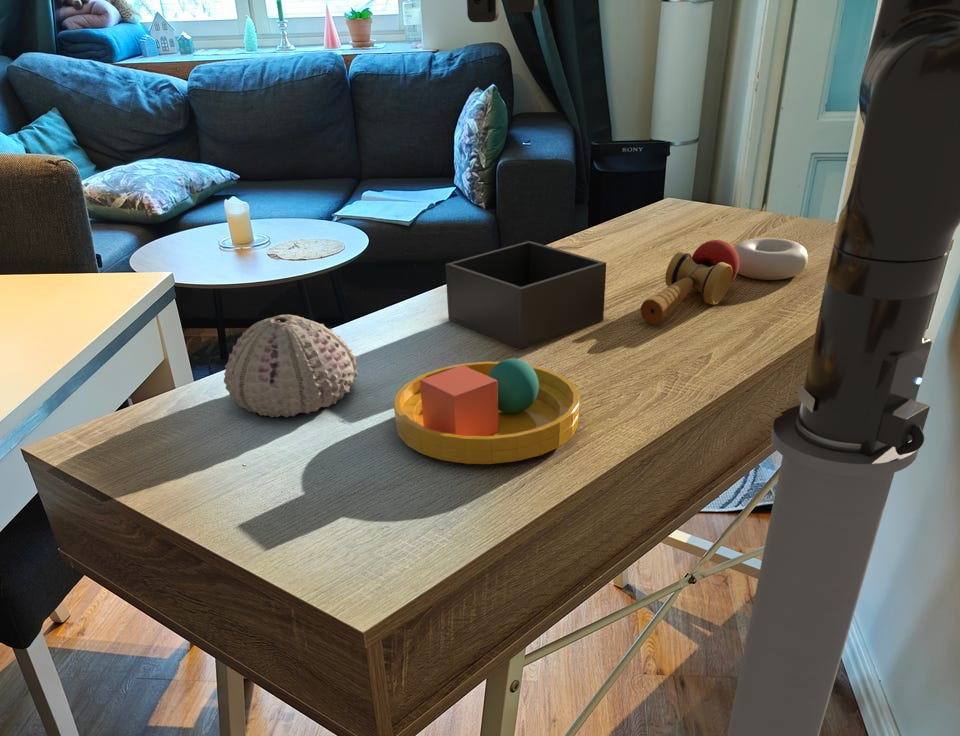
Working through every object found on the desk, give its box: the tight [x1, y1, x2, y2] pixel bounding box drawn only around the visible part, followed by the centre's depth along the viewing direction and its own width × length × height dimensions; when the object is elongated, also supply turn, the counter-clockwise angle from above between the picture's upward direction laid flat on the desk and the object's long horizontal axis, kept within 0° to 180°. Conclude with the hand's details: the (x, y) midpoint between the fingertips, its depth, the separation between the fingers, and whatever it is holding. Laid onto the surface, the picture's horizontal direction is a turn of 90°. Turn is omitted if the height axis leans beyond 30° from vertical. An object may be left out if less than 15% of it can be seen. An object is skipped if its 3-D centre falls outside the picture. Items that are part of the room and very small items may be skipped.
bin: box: [444, 240, 607, 350], centre depth 105 cm, size 13×13×7 cm
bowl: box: [393, 361, 580, 465], centre depth 84 cm, size 17×17×3 cm
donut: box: [733, 237, 809, 281], centre depth 117 cm, size 10×4×10 cm
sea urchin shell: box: [223, 314, 359, 418], centre depth 89 cm, size 13×14×8 cm
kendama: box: [640, 239, 739, 326], centre depth 108 cm, size 8×6×18 cm
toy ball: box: [488, 358, 539, 414], centre depth 84 cm, size 5×5×5 cm
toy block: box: [420, 365, 498, 436], centre depth 81 cm, size 5×5×5 cm
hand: (504, 16), depth 68 cm, fingers open, 8 cm apart
